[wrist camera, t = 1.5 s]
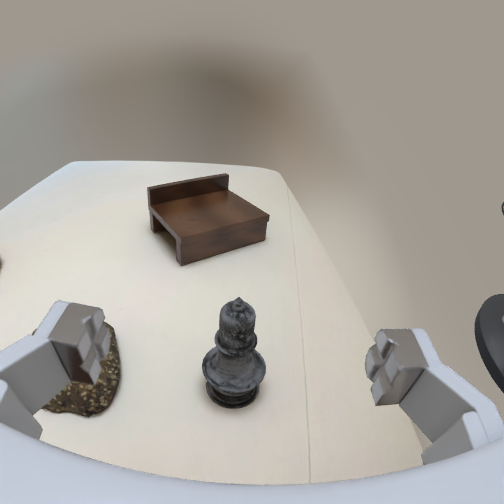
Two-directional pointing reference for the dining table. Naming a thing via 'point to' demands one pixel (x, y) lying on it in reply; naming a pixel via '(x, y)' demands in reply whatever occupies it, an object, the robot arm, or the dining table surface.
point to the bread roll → (90, 386)
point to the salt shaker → (234, 358)
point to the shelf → (205, 217)
